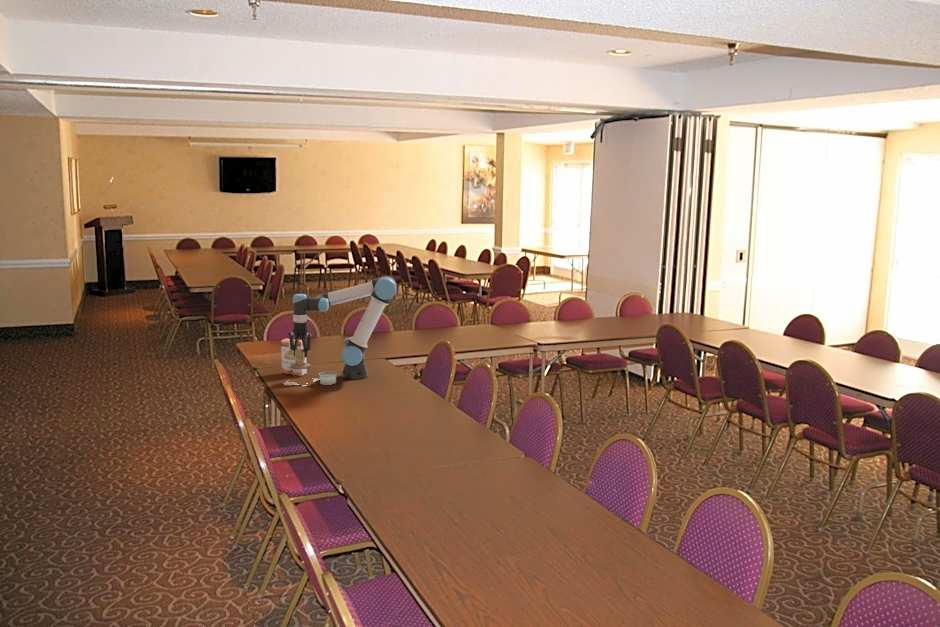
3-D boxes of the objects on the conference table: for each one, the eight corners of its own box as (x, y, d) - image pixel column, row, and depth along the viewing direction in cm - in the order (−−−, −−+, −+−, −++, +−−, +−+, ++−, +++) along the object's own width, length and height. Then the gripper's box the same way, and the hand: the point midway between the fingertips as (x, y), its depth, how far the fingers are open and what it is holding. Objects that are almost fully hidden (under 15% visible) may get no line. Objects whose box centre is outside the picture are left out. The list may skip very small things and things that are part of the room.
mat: (294, 378, 449) (294, 377, 449) (320, 379, 446) (320, 379, 446) (282, 384, 434) (282, 383, 434) (308, 386, 431) (308, 385, 430)
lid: (295, 364, 445) (295, 346, 443) (313, 365, 443) (313, 348, 441) (287, 368, 434) (287, 350, 433) (305, 369, 432) (305, 351, 430)
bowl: (323, 381, 442) (323, 370, 441) (339, 382, 440) (339, 371, 439) (316, 385, 433) (315, 374, 432) (332, 387, 431) (332, 375, 430)
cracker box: (281, 374, 458) (280, 339, 454) (287, 372, 463) (286, 337, 460) (301, 376, 453) (300, 341, 449) (307, 374, 458) (306, 339, 455)
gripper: (283, 321, 433) (283, 362, 436) (311, 323, 429) (311, 364, 433) (289, 319, 440) (289, 359, 444) (317, 321, 436) (317, 362, 440)
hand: (300, 362), depth 438 cm, fingers closed on lid, 4 cm apart
